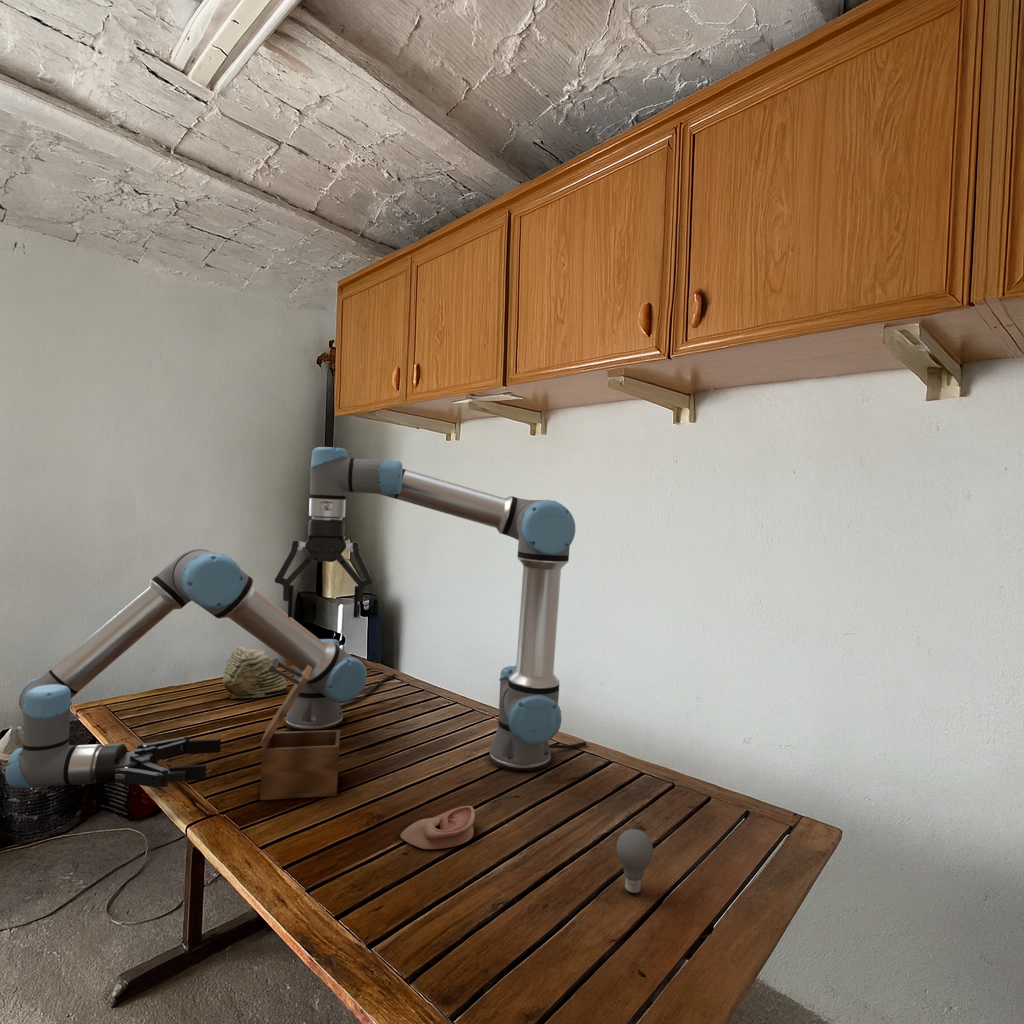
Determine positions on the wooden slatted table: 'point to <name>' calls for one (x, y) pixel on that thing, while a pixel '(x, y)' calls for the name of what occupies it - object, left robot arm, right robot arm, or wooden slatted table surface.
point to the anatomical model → (442, 829)
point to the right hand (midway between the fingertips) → (323, 616)
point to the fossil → (251, 675)
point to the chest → (300, 765)
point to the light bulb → (634, 857)
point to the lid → (289, 699)
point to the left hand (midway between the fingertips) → (213, 758)
